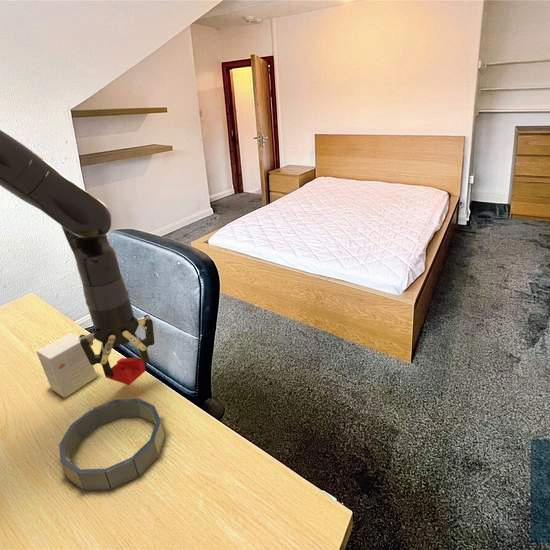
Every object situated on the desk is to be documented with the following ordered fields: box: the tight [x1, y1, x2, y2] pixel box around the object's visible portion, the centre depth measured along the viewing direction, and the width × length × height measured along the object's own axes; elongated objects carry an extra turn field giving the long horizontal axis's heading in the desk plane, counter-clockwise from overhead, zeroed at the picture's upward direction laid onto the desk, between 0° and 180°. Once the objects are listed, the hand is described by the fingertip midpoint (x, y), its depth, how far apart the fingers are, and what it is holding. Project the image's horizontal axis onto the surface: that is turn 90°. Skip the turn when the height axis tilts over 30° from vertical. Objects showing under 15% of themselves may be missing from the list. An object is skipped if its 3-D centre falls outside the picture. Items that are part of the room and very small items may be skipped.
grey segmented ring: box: [58, 398, 165, 491], centre depth 73 cm, size 17×17×4 cm
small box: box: [36, 332, 97, 399], centre depth 89 cm, size 8×6×10 cm
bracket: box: [104, 356, 147, 386], centre depth 84 cm, size 6×5×3 cm
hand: (127, 368), depth 85 cm, fingers closed on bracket, 6 cm apart
